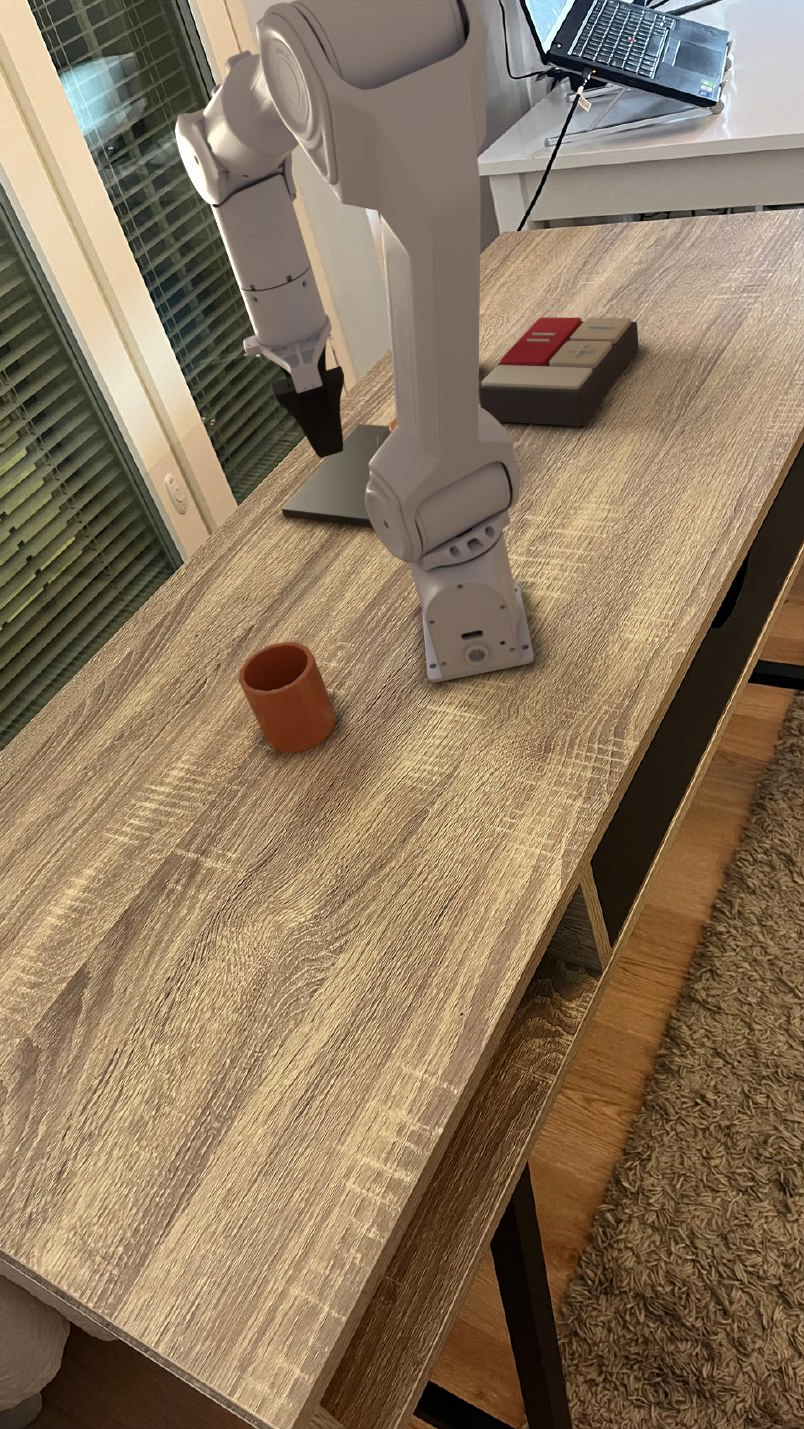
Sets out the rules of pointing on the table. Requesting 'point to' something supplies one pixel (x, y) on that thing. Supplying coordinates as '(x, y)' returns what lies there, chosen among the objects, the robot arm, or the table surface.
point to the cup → (288, 696)
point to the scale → (340, 481)
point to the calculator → (559, 370)
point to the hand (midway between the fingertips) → (324, 431)
